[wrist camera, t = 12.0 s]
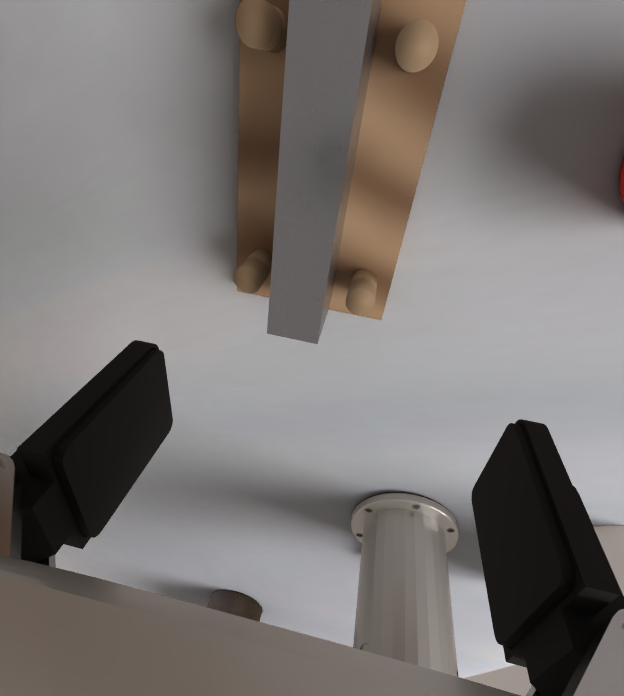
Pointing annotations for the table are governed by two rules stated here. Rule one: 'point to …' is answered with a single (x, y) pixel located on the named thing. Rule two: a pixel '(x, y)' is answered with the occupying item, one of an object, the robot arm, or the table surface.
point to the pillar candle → (235, 604)
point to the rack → (372, 151)
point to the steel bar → (317, 155)
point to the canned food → (621, 181)
